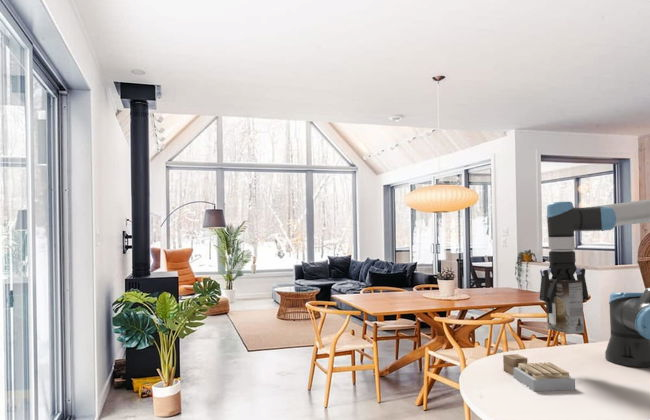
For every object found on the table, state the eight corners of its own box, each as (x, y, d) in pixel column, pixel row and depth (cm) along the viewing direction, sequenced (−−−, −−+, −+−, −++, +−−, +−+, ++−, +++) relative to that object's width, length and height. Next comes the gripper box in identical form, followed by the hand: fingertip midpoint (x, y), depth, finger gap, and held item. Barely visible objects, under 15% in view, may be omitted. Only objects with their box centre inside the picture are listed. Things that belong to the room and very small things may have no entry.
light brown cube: (517, 369, 153) (517, 354, 153) (527, 374, 148) (527, 358, 149) (503, 371, 152) (503, 355, 152) (513, 375, 147) (513, 359, 147)
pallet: (550, 367, 145) (550, 362, 145) (569, 377, 135) (569, 372, 135) (518, 368, 144) (518, 363, 144) (535, 378, 134) (534, 373, 134)
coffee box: (546, 329, 155) (543, 279, 156) (561, 327, 157) (558, 277, 158) (570, 334, 146) (567, 281, 147) (585, 332, 149) (583, 280, 149)
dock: (551, 376, 146) (551, 366, 146) (575, 389, 134) (575, 378, 134) (513, 377, 145) (513, 367, 145) (533, 391, 133) (533, 380, 133)
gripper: (585, 248, 157) (588, 319, 156) (524, 250, 156) (528, 322, 155) (599, 249, 150) (603, 324, 149) (536, 252, 148) (540, 326, 147)
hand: (565, 323), depth 152 cm, fingers closed on coffee box, 7 cm apart
